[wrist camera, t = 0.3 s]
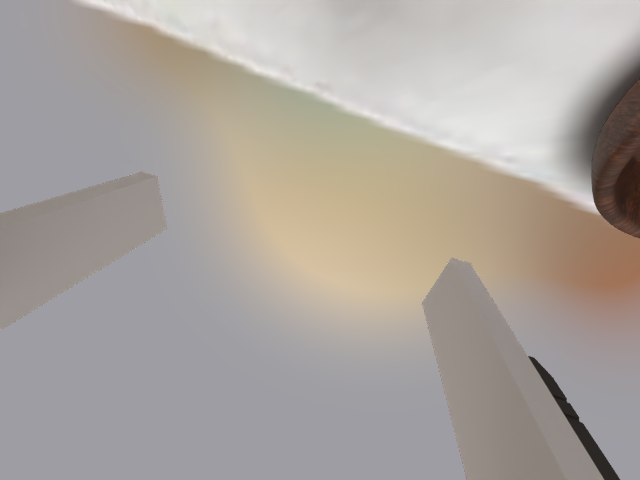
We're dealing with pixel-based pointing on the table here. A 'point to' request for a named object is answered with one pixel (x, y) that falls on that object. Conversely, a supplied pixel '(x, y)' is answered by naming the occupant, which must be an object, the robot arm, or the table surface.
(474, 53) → the table surface
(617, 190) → the wooden bowl
